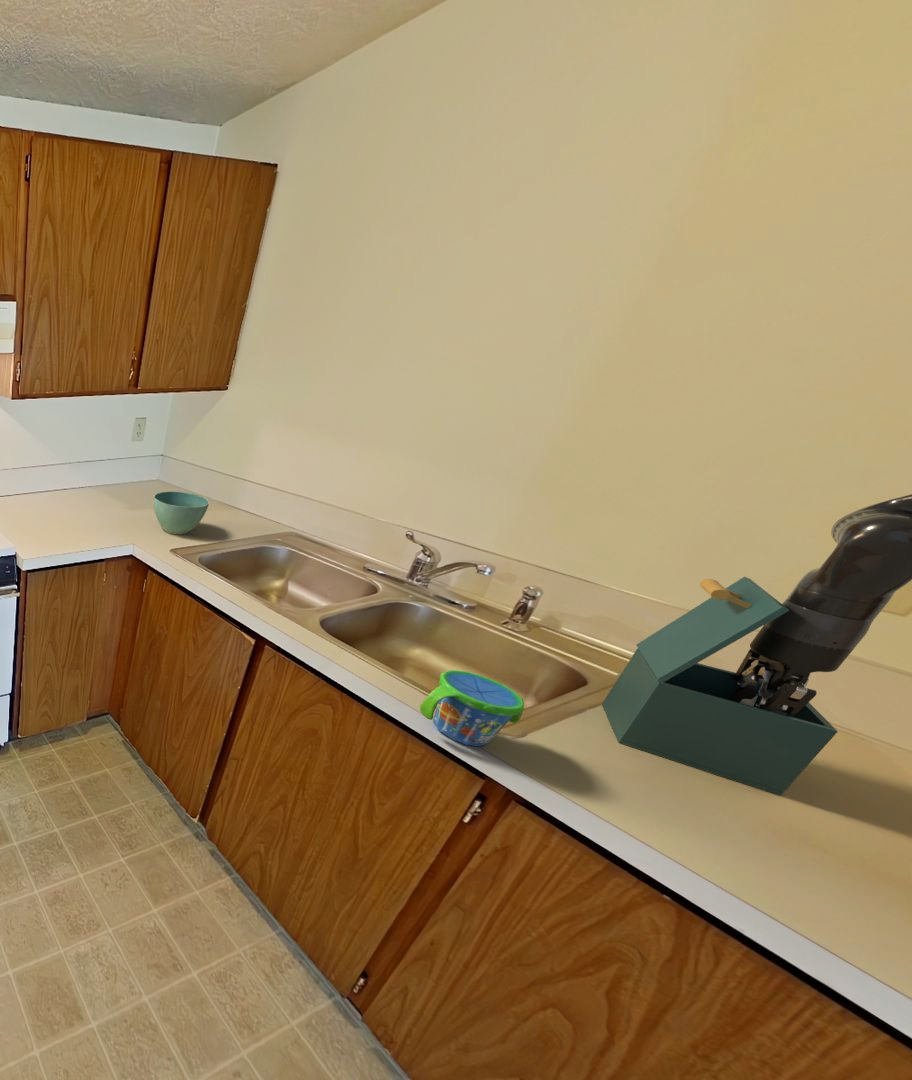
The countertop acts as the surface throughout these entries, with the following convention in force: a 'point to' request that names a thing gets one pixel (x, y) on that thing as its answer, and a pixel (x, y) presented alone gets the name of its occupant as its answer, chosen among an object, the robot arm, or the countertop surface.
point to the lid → (709, 626)
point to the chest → (713, 725)
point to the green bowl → (179, 511)
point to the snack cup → (471, 707)
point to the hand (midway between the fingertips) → (743, 718)
